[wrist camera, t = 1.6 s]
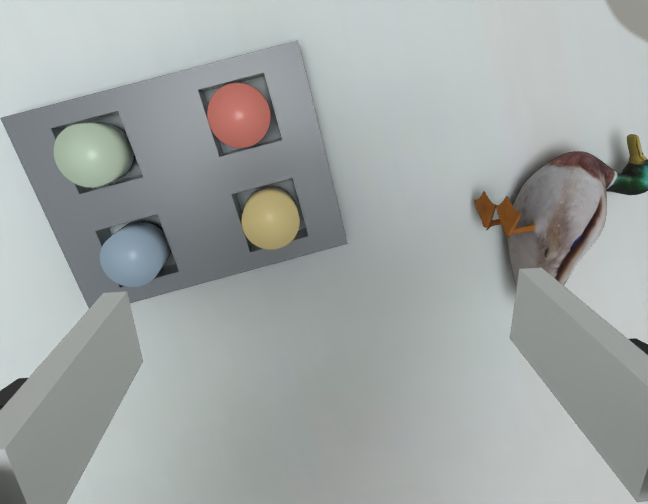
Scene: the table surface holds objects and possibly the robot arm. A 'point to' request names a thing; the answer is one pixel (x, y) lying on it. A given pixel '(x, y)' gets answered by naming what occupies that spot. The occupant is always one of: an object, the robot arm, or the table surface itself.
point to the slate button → (134, 254)
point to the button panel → (184, 173)
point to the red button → (238, 115)
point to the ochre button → (270, 218)
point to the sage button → (93, 153)
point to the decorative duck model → (563, 209)
